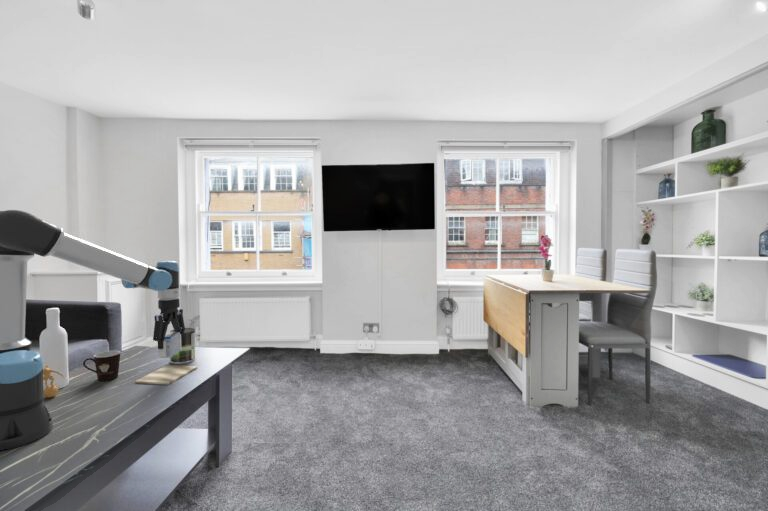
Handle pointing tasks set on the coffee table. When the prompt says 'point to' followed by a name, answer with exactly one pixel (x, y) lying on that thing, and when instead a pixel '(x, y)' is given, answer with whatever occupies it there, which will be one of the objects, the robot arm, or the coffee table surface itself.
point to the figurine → (51, 390)
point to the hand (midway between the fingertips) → (170, 352)
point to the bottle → (54, 349)
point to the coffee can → (185, 348)
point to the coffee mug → (106, 365)
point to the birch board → (166, 375)
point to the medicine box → (172, 344)
